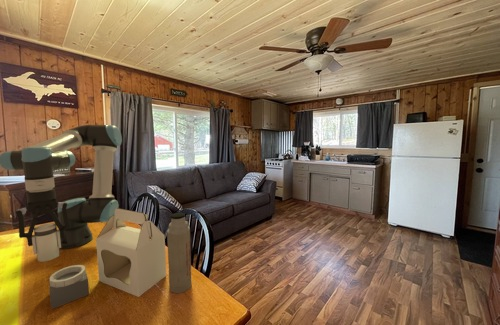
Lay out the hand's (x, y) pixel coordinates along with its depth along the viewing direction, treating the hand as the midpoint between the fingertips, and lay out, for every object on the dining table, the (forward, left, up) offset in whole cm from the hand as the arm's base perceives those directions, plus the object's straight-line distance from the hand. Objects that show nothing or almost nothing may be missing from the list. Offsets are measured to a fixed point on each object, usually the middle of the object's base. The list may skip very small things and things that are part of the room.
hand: (48, 249), depth 80 cm
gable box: (+17, +24, -14) cm, 33 cm away
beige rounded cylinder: (0, 0, -3) cm, 3 cm away
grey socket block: (+11, +5, -14) cm, 19 cm away
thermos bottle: (+34, +36, -14) cm, 52 cm away
